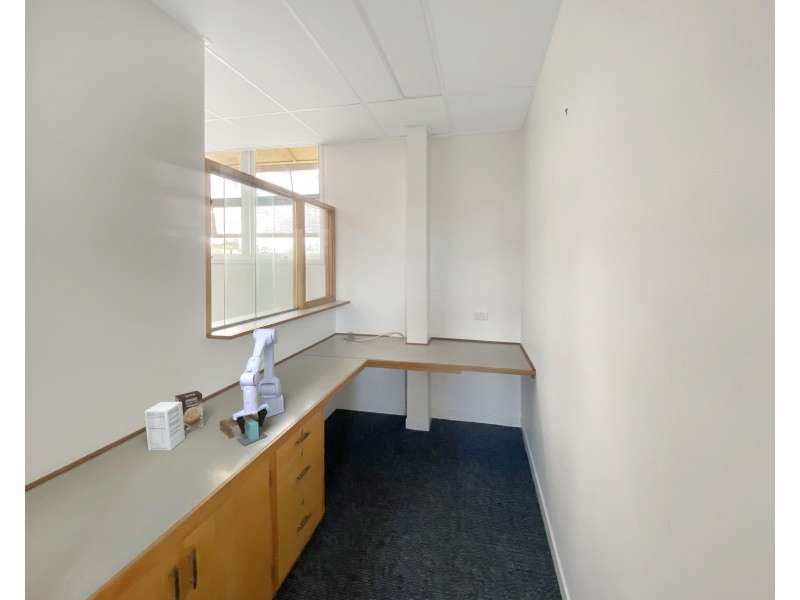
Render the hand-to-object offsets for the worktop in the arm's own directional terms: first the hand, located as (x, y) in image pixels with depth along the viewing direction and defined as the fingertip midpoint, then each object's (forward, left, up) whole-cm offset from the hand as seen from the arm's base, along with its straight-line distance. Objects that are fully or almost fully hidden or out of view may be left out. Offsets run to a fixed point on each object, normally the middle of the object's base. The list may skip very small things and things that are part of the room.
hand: (252, 429), depth 141 cm
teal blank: (0, 0, -3) cm, 3 cm away
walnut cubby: (0, -12, -4) cm, 13 cm away
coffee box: (+15, -29, -4) cm, 33 cm away
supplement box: (+26, -21, -4) cm, 34 cm away
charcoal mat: (0, 0, -4) cm, 4 cm away
